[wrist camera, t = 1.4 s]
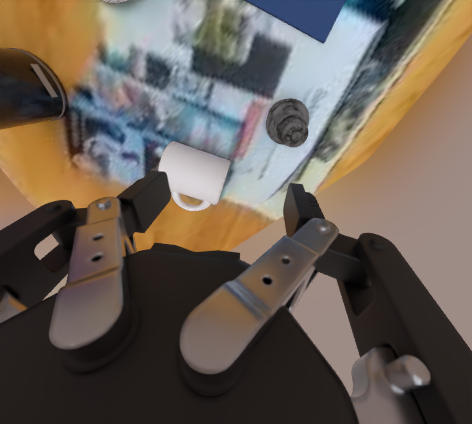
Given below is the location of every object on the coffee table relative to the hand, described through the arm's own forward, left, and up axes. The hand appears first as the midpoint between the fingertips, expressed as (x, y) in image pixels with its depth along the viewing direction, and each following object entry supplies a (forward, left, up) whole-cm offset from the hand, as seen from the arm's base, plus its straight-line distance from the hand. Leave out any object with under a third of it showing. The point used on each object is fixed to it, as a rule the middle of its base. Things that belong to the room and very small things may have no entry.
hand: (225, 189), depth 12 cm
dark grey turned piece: (+5, +4, -22) cm, 23 cm away
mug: (-3, -12, -22) cm, 25 cm away
